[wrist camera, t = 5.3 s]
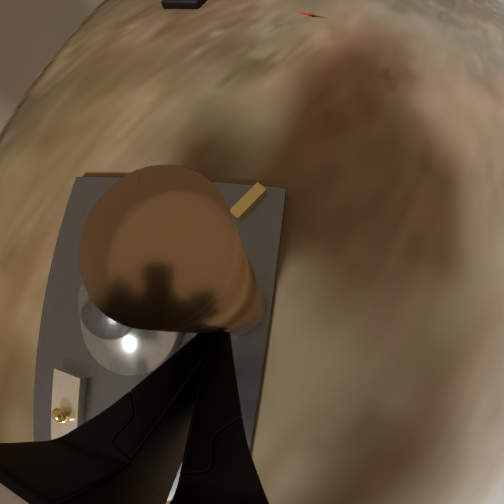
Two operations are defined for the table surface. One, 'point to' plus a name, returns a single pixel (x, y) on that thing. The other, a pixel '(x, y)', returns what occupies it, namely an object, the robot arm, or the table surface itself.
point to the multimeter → (192, 5)
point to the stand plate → (244, 346)
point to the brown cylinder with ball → (161, 269)
